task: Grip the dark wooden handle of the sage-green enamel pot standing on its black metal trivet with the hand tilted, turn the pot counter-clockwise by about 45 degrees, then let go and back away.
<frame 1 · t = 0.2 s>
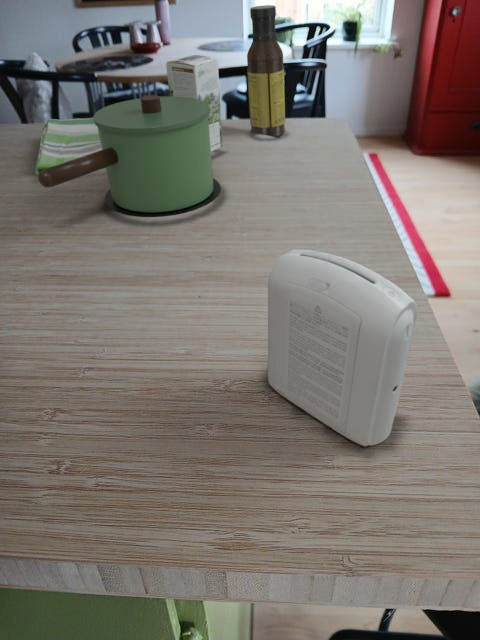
trivet: (164, 198, 72), on the table
photo printer: (328, 406, 39), on the table
dish towel: (92, 153, 89), on the table
pot: (141, 152, 66), point 7 cm above the table, hinge at 0.0°
sauce bottle: (267, 135, 93), on the table
syrup box: (199, 155, 86), on the table
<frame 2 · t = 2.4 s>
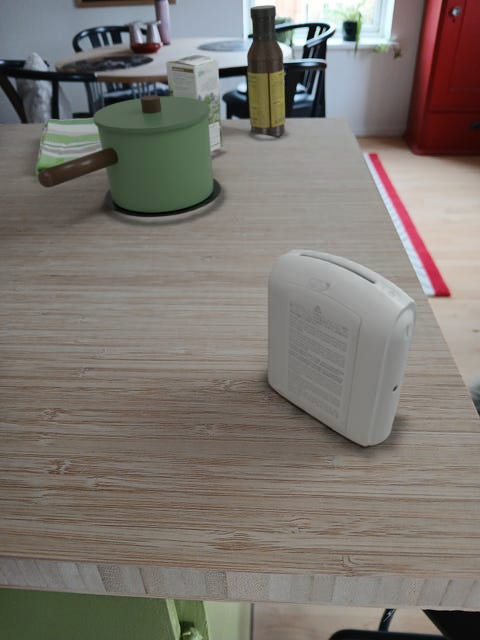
nothing on the table moved.
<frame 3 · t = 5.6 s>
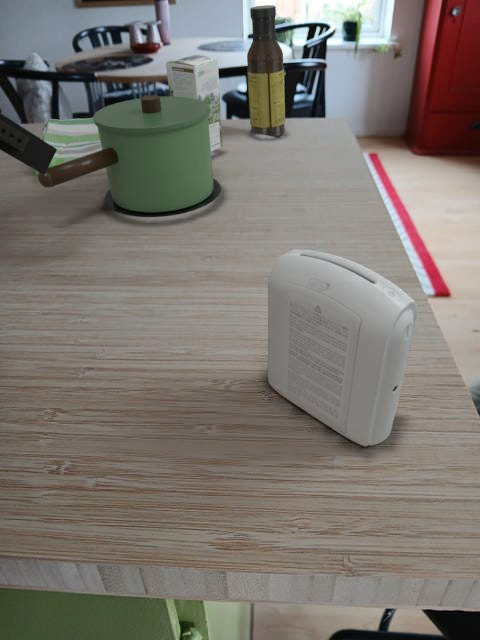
hand: (14, 148, 53), 12 cm above the table, tool tilted 45°, fingers open, 13 cm apart
nothing on the table moved.
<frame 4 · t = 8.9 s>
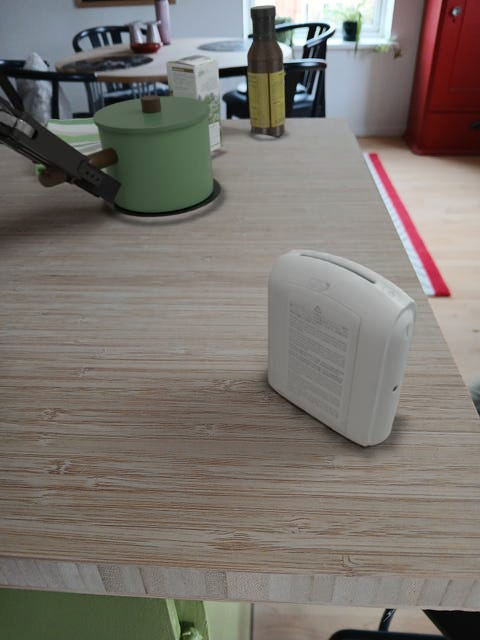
hand: (108, 190, 64), 4 cm above the table, tool tilted 45°, fingers closed on pot, 2 cm apart
pot: (141, 152, 66), point 7 cm above the table, hinge at 0.1°, touching gripper
everything else where it was.
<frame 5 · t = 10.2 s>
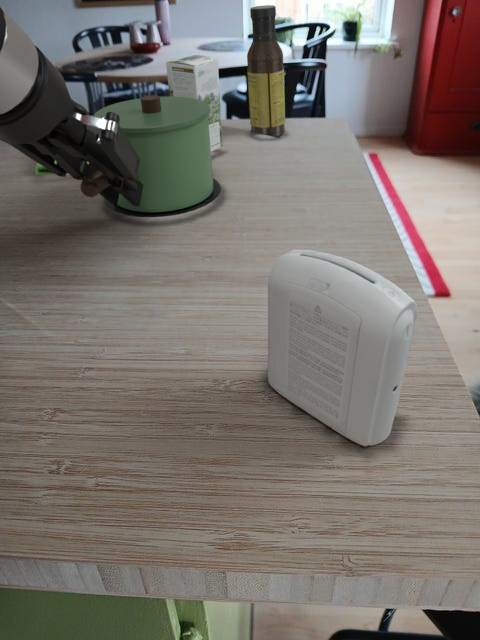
hand: (127, 194, 63), 4 cm above the table, tool tilted 45°, fingers closed on pot, 2 cm apart
pot: (147, 153, 65), point 7 cm above the table, hinge at 23.4°, touching gripper
everything else where it was.
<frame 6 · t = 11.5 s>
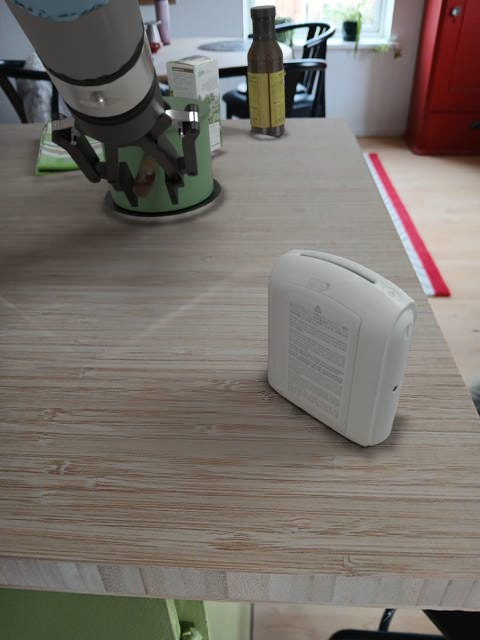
hand: (154, 195, 62), 4 cm above the table, tool tilted 45°, fingers open, 4 cm apart
pot: (155, 153, 65), point 7 cm above the table, hinge at 44.3°
everything else where it was.
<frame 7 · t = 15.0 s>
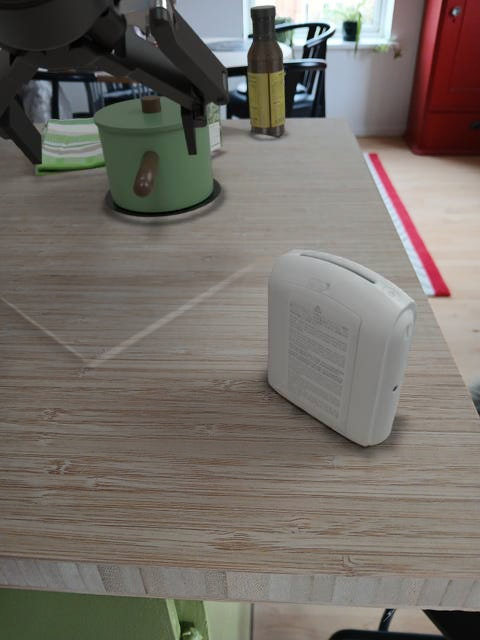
hand: (115, 145, 45), 14 cm above the table, tool tilted 45°, fingers open, 13 cm apart
nothing on the table moved.
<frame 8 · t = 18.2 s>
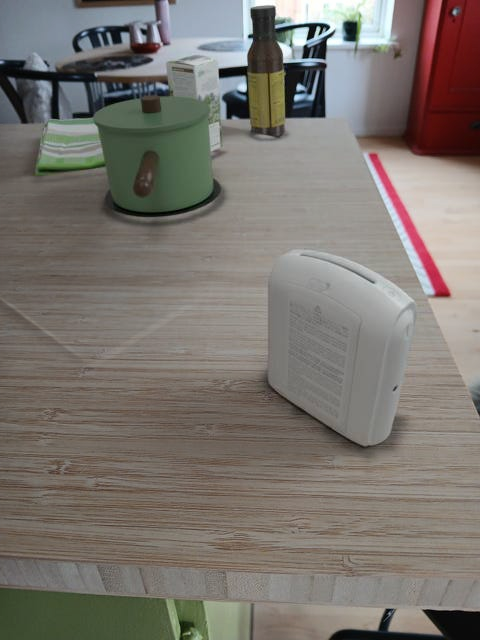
nothing on the table moved.
at the end: pot at +44° (first picture: +0°); sauce bottle moved 0.2 cm from its start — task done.
